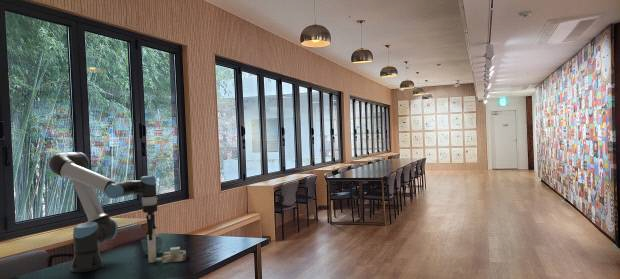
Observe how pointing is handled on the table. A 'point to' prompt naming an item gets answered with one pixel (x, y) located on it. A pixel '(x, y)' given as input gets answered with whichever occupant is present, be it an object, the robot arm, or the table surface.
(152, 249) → the beige teardrop-shaped paddle
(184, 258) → the beige u-shaped frame
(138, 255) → the table surface
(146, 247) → the flower pot
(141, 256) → the table surface
